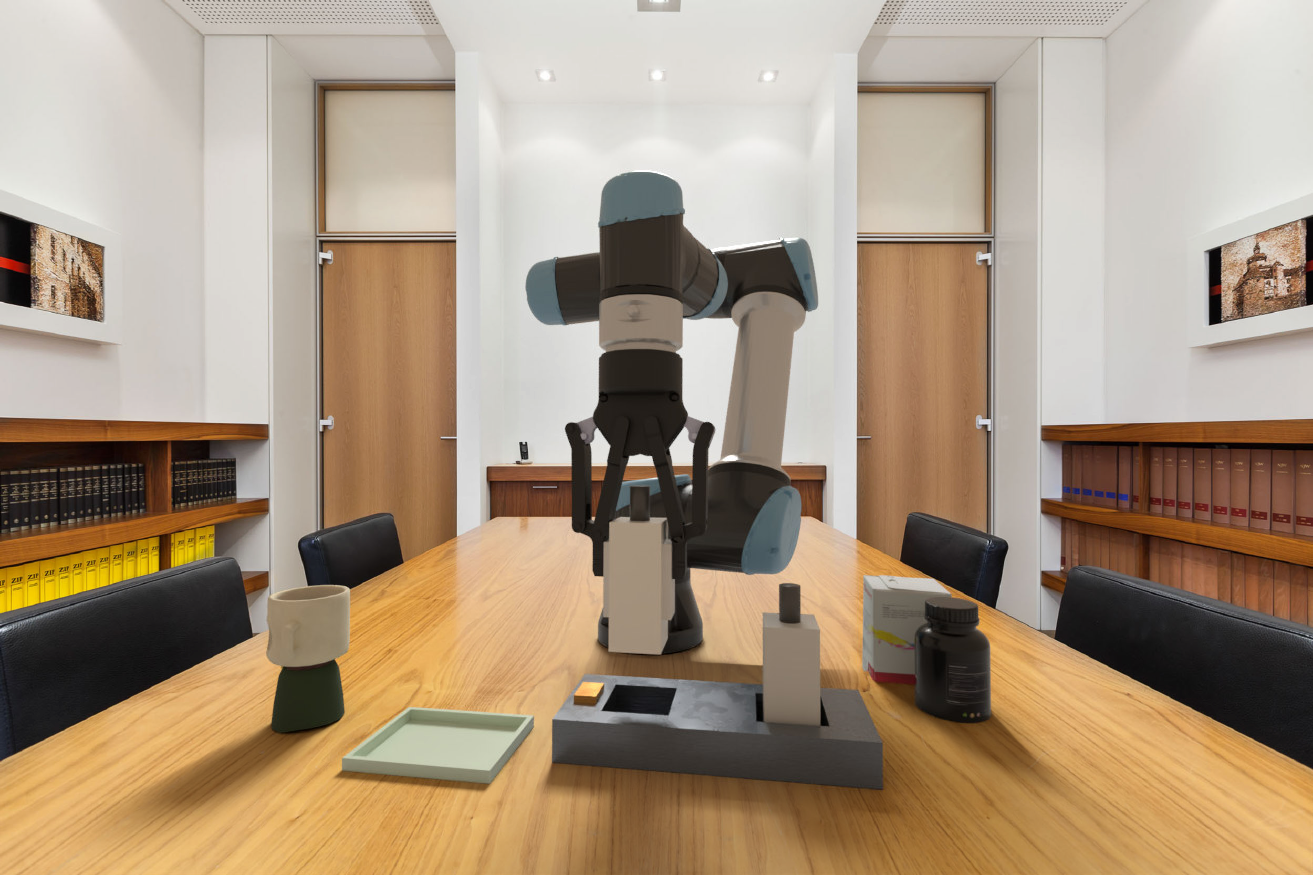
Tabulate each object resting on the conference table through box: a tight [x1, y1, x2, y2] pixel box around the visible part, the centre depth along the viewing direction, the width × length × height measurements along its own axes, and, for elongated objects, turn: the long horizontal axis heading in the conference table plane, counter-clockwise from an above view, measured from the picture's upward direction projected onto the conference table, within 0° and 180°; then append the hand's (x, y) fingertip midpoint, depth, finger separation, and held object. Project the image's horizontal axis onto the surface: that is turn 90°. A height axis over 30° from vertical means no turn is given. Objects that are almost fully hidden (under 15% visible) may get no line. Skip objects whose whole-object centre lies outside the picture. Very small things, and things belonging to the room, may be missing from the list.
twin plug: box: [762, 582, 821, 726], centre depth 51 cm, size 4×4×14 cm
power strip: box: [551, 673, 884, 791], centre depth 52 cm, size 10×26×6 cm, turn 81°
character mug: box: [265, 584, 351, 734], centre depth 59 cm, size 11×7×13 cm, turn 9°
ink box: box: [861, 574, 953, 685], centre depth 70 cm, size 9×9×12 cm
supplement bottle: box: [914, 596, 992, 724], centre depth 60 cm, size 7×7×12 cm
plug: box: [608, 486, 668, 655], centre depth 53 cm, size 4×4×14 cm
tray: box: [341, 706, 535, 785], centre depth 54 cm, size 10×13×2 cm
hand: (639, 613), depth 53 cm, fingers closed on plug, 4 cm apart
